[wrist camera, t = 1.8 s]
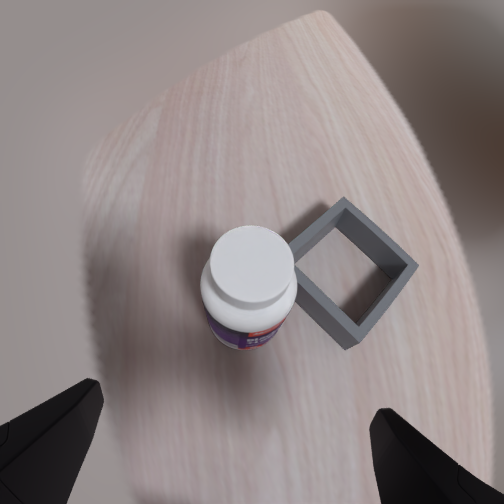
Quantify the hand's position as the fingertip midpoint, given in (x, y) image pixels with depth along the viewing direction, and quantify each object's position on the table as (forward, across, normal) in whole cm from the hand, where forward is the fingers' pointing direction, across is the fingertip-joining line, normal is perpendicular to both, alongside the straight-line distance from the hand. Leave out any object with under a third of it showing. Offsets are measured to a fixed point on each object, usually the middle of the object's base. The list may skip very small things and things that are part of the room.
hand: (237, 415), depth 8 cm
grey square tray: (+17, -8, +2) cm, 18 cm away
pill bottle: (+14, 0, +4) cm, 15 cm away
